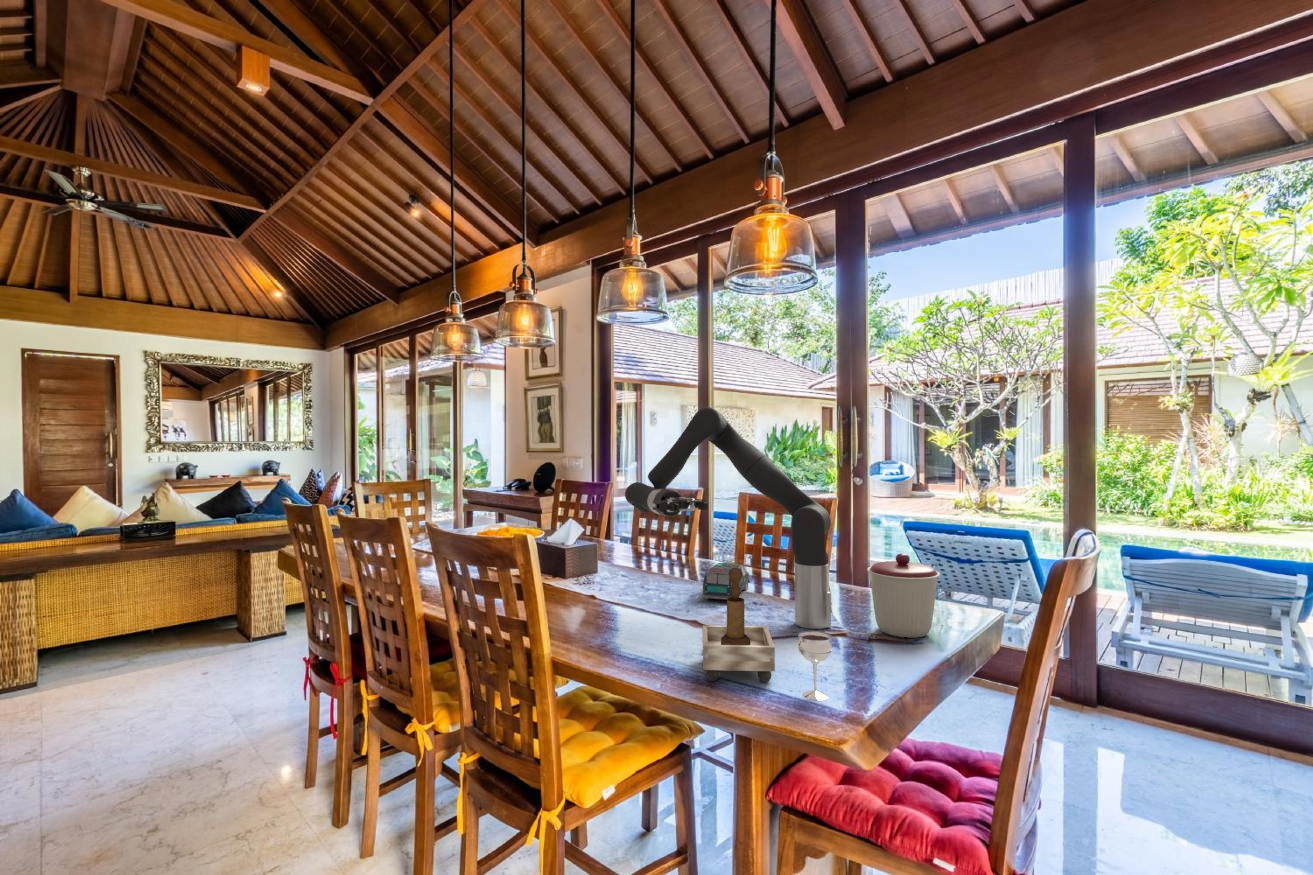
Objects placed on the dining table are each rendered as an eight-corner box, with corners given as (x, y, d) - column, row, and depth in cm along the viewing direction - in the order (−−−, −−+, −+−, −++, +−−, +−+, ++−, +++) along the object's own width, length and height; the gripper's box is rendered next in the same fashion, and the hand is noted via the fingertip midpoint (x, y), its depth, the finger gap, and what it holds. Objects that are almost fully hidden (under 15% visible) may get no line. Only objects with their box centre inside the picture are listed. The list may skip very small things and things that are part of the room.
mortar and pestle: (743, 656, 133) (742, 572, 134) (715, 650, 137) (715, 569, 137) (755, 647, 139) (754, 567, 139) (728, 642, 142) (728, 564, 143)
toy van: (750, 587, 218) (750, 559, 218) (733, 605, 195) (733, 573, 195) (721, 585, 222) (720, 557, 222) (701, 602, 199) (700, 570, 199)
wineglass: (795, 699, 123) (795, 638, 123) (800, 686, 129) (800, 629, 129) (831, 704, 120) (830, 642, 120) (834, 691, 127) (833, 632, 127)
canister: (863, 621, 176) (863, 546, 176) (931, 624, 172) (930, 548, 173) (872, 641, 158) (871, 558, 159) (948, 645, 155) (947, 561, 155)
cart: (767, 660, 145) (767, 626, 145) (775, 685, 130) (774, 647, 130) (703, 659, 146) (702, 625, 146) (703, 684, 131) (702, 646, 131)
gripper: (642, 490, 176) (668, 494, 161) (686, 488, 182) (715, 491, 167) (642, 516, 176) (668, 522, 161) (686, 513, 182) (715, 519, 167)
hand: (692, 507), depth 164 cm, fingers open, 8 cm apart
